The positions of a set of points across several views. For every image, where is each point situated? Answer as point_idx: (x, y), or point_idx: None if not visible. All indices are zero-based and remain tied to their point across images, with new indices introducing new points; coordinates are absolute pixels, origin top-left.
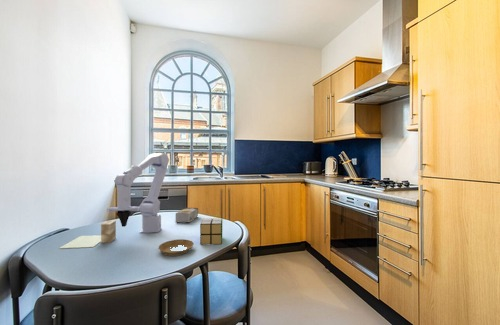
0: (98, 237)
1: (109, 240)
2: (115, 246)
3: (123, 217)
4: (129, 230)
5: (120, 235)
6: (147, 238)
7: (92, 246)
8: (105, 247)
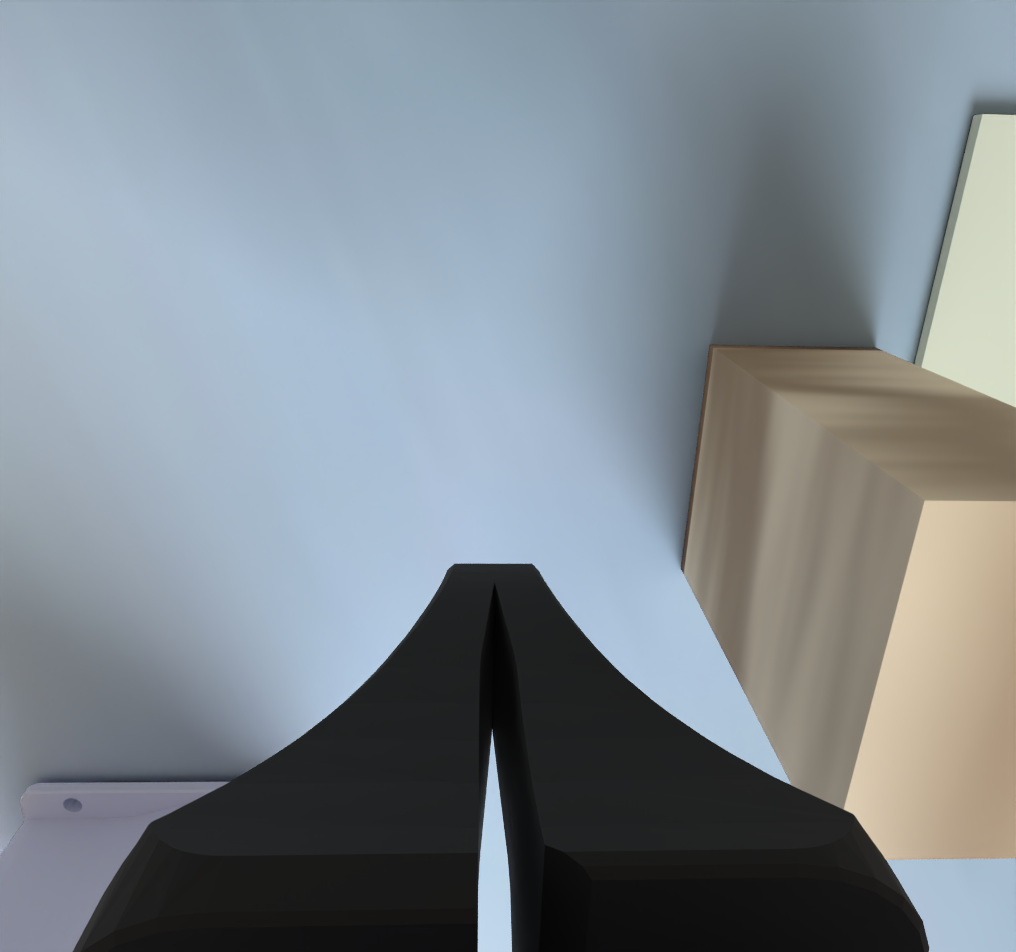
0: None
1: (737, 355)
2: (526, 100)
3: (448, 725)
4: None
5: None
6: (64, 503)
7: (996, 124)
8: (717, 66)
